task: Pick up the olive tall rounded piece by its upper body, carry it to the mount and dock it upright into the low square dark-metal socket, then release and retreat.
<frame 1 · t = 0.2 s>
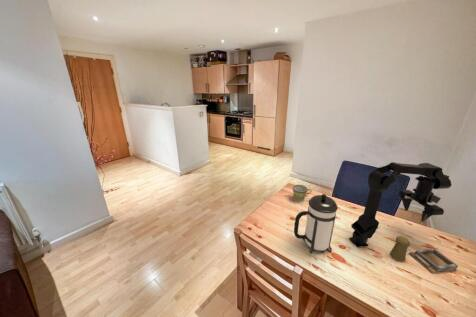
hand: (414, 215, 101), 14 cm above the table, fingers open, 9 cm apart
mount: (431, 261, 92), on the table
olive tall rounded piece: (397, 257, 95), on the table
ceramic cup: (300, 200, 143), on the table
coffee press: (314, 245, 102), on the table
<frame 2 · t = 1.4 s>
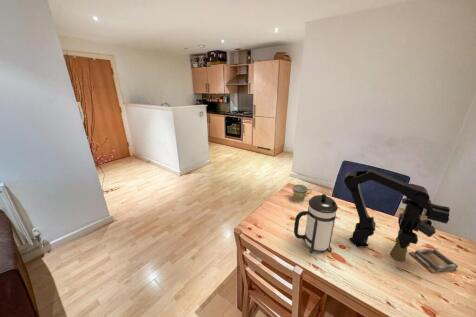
hand: (402, 242, 92), 9 cm above the table, fingers open, 9 cm apart
nothing on the table moved.
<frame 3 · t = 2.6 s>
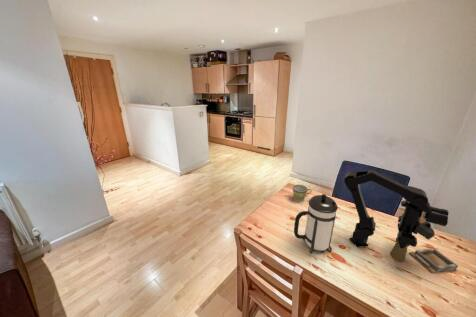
hand: (401, 244, 92), 8 cm above the table, fingers closed on olive tall rounded piece, 5 cm apart
olive tall rounded piece: (397, 257, 95), on the table, touching gripper
everything else where it was.
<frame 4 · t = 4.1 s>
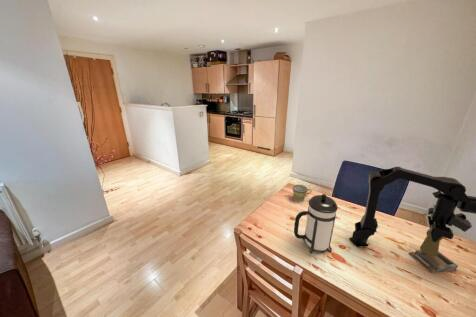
hand: (433, 237, 88), 14 cm above the table, fingers closed on olive tall rounded piece, 5 cm apart
olive tall rounded piece: (428, 251, 90), point 6 cm above the table, touching gripper
everything else where it was.
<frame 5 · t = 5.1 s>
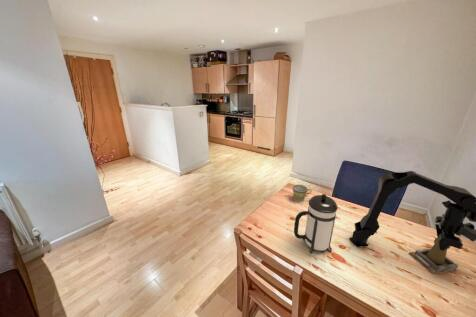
hand: (440, 246, 89), 9 cm above the table, fingers closed on olive tall rounded piece, 5 cm apart
olive tall rounded piece: (434, 259, 91), point 2 cm above the table, touching gripper
everything else where it was.
when the fingers open (9 cm above the table, at t = 5.8 s): olive tall rounded piece drops 1 cm, resting on mount.
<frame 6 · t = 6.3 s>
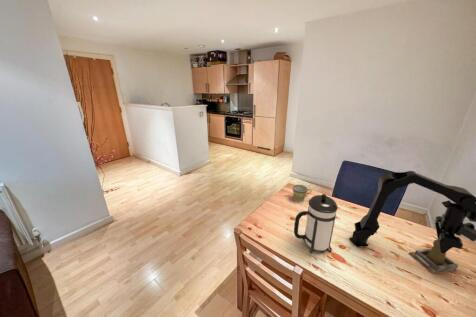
hand: (440, 246, 89), 9 cm above the table, fingers open, 9 cm apart
olive tall rounded piece: (434, 261, 92), point 1 cm above the table, touching mount
everything else where it was.
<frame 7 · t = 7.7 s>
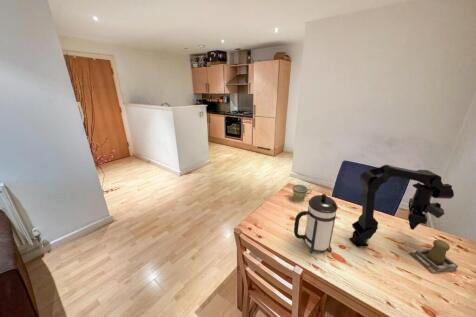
hand: (411, 224, 98), 13 cm above the table, fingers open, 9 cm apart
nothing on the table moved.
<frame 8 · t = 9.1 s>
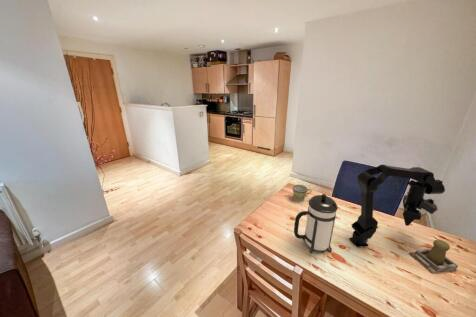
hand: (406, 220, 100), 13 cm above the table, fingers open, 9 cm apart
nothing on the table moved.
at the end: olive tall rounded piece 0.1 cm from the target spot on the mount, point 0.6 cm above the mount's base; olive tall rounded piece tilted 0°; the gripper is holding nothing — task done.
